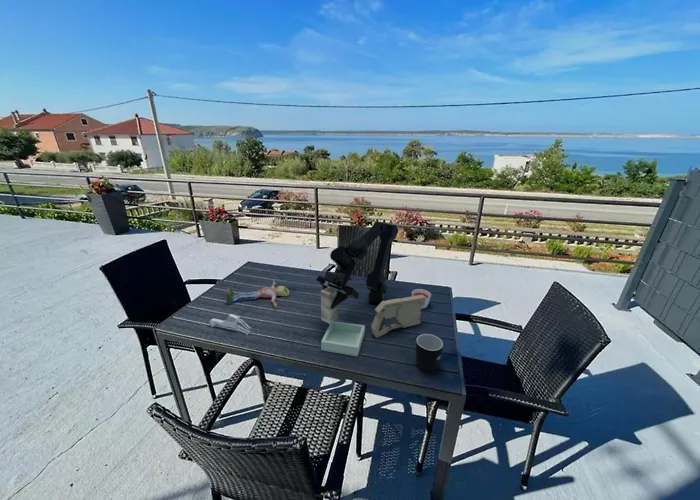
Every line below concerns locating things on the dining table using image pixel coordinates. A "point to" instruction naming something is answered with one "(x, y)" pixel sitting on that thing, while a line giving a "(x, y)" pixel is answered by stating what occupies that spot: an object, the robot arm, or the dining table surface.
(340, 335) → the box
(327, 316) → the birch post
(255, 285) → the dining table surface
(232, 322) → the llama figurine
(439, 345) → the mug
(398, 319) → the gun
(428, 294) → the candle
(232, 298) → the toy
